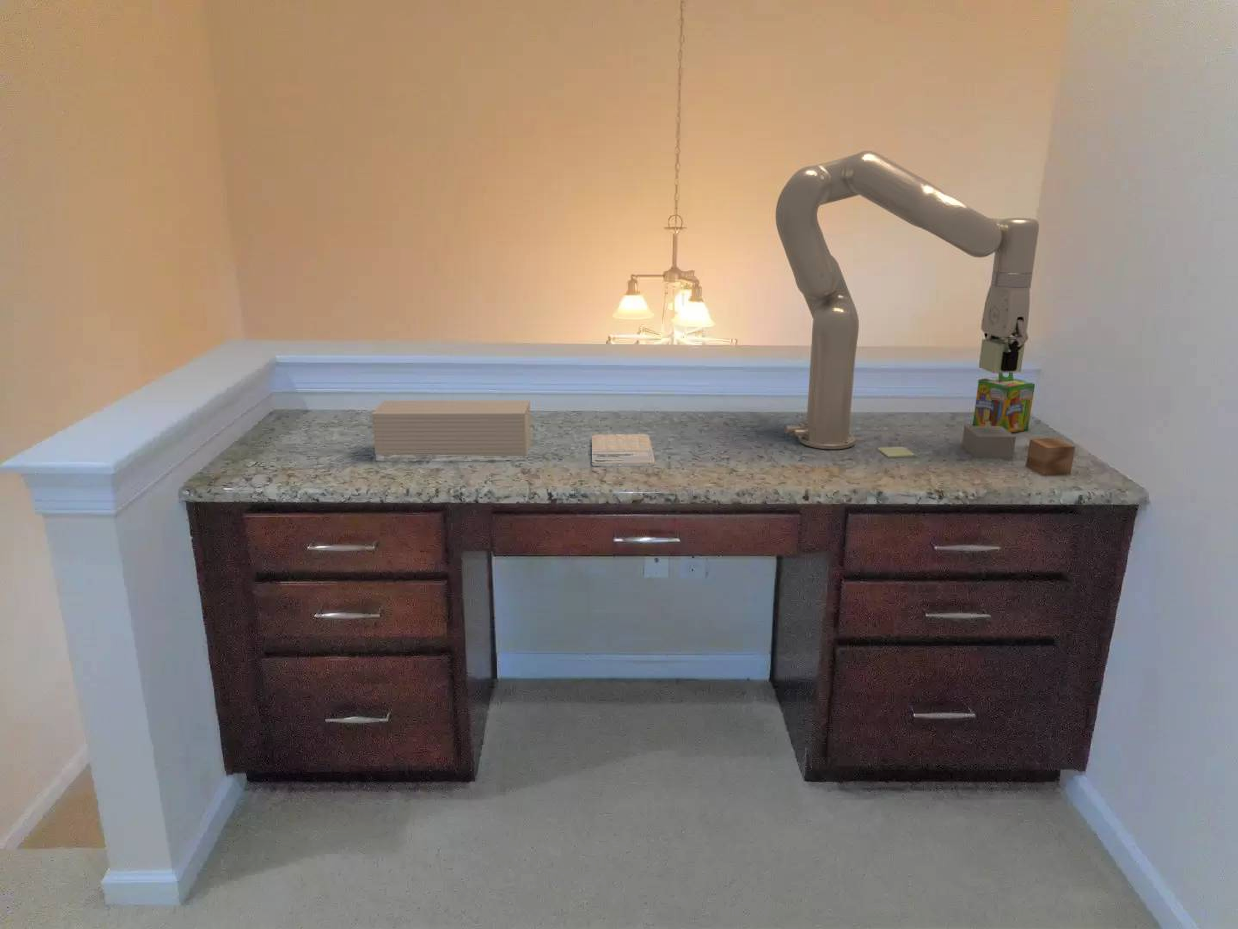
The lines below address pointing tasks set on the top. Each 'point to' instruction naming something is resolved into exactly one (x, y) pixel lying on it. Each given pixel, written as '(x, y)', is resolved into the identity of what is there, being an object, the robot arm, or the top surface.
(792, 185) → the robot arm
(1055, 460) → the walnut block
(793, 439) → the top surface
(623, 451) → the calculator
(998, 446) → the base block
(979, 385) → the chalk box
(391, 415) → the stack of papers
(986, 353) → the sage block
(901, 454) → the tile
